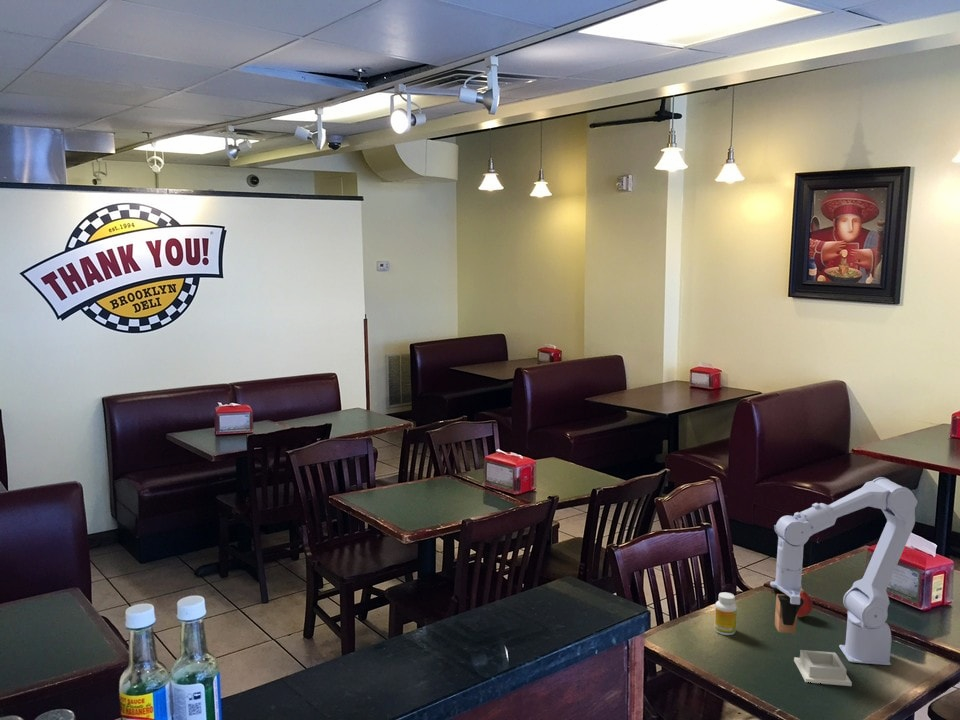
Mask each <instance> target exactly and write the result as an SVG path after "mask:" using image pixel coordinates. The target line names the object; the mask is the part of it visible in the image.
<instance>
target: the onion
mask: <svg viewBox="0 0 960 720" xmlns="http://www.w3.org/2000/svg"><path fill="white" fill-rule="evenodd" d="M800 598H802V599H803V600H804V603H803V605H802V606H801V607H800V609H799V610H798V613H797V618H803V617H805V616H807V615H809V614H810V613H811V612H812V610H813V607H814V604H813V600H812V598H811V597H810V595H809V594H808V593H807V592H806V591H805V590H804V589H803V588H802V589H801V593H800Z"/></svg>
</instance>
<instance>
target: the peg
mask: <svg viewBox="0 0 960 720" xmlns="http://www.w3.org/2000/svg"><path fill="white" fill-rule="evenodd" d="M778 595H783V596H786V594H776V597H775V609H774V610H775V611H774V613H775V614H774V626H775V628H776V630H777V632H778V633H783V634H797V623H798V622H797V621H798V619H797V618H798V616H797V615H796V618H795V621H794V624H793V625H784V624H783V619H782V609H781V604H780V601H779V599H778Z"/></svg>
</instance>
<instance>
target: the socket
mask: <svg viewBox="0 0 960 720" xmlns="http://www.w3.org/2000/svg"><path fill="white" fill-rule="evenodd" d="M799 652H800V653H799V657H798V656H797V657H796V656H794V657H793V662H794V663H795V665H796V667H797V669H798V670H799V672H800V675H801V676H802V678H803V680H804V682H805V683H808V682H809V683H808V684H811V683H812V684H820V683H821V684H823V685H831V686H833V685H834V686H847V687H852V685H853V683H852V681H851V679H850V678H849V676H848V675H847V671H848V670H847V668H846V667H845V664H844V663H843V662H842V660H841V658H840V657H839V655H838V654H837V653H836V652H833V651H820V650H807V649H806V650H805V649H800V650H799ZM810 682H811V683H810Z"/></svg>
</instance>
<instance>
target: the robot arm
mask: <svg viewBox="0 0 960 720" xmlns="http://www.w3.org/2000/svg"><path fill="white" fill-rule="evenodd" d="M917 505H918V499H917V498H916V496H915V495H914V493H913V492H912V490H911V489H909V488H908V487H906V486H903V485H900V484H897V483H896V482H894V481H891V480H890V479H889V478H886V477H883V476H880V477H876V478H874V479H873V480H870V481H866V482H865V483H864V485H863V486H862V487H861V488H858V489H856V490H855V491H852V492H851V493H849V494H847V495H845V496H844V497H841V498H839V499H837V500H835V501H833V502H831V503H830V504H826V503H823V502H820V503H818V502H815V503H812V504H811V507H809V508H807V509H804V510H802V511H800V512H799V511H797V512H794V514H793V515H789V514H788V515H783V516H781V517H780V518H779V519H778V520H777V522H776V524H774V525H773V527H774V529H773V530H774V532H775V533H776V534H777V538H778V539H777V552H776V553H777V554H776V567H775V568H776V569H775V580H773V581H770V584H769V585H770V586H771V588H772V590H773V593H774V596H775V598H776V594H786V596H783V595H778V599H779V601H780V604H781V609H782V619H783V624H784V625H793V624H794V621H795V618H796V615H797V613H798V610H799V609H800V607H801V606H802V605H803V603H804V600H803V599H802V598H800V593H801V589H803V588H802V577H803V575H802V574H803V561H804V560H803V559H804V548H805V547H804V545H805V544H806V543H807V542H809V539H810V537H812V536H813V535H814V534H817V533H819V532H821V531H824V530H826V529H828V528H830V527H833V526H835V524H836V521H837V519H838V518H841V517H843V516H845V515H849V514H851V513H854V512H856V511H859V510H863V509H865V508H867V507H871V508H874V509H880V510H881V511H882V513H883V514H884V516H885V519H886V523H885V526H884V527H883V530H882V532H881V534H880V537H879V540H878V541H877V544H876V546H875V549H874V551H873V553H872V555H871V558H870V560H869V563H868V565H867V567H866V570H865V571H864V575H863V577H862V578H861V579H857V580H856V581H854V582H853V584H852V585H851V587H850V588H849V590H847V591H846V592H845V593H844V595H843V597H842V599H843V600H842V603H843V606H844V608H845V609H846V610H847V612H846V613H847V621H846V633H845V634H846V635H845V644H839V646H838V647H839V648H840V650H841V652H842V653H843V655H844V656H845V658H846V659H847V660H848V662H850V663H858V664H867V665H868V664H871V665H880V666H881V665H883V666H891V665H892V664H891V661H890V660H891V650H892V649H891V647H892V631H891V629H890V625H889V623H887V622H886V621H887V619H888V614H889V613H888V608H889V605H890V598H889V596H888V595H889V594H888V592H887V589H888V586H889V584H890V582H891V580H892V577H893V575H894V573H895V570H896V568H897V566H898V563H899V561H900V559H901V556H902V554H903V552H904V550H905V547H906V545H907V543H908V541H909V538H910V536H911V533H912V531H913V529H914V527H915V524H916V515H915V514H916V511H915V509H916V507H917Z"/></svg>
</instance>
